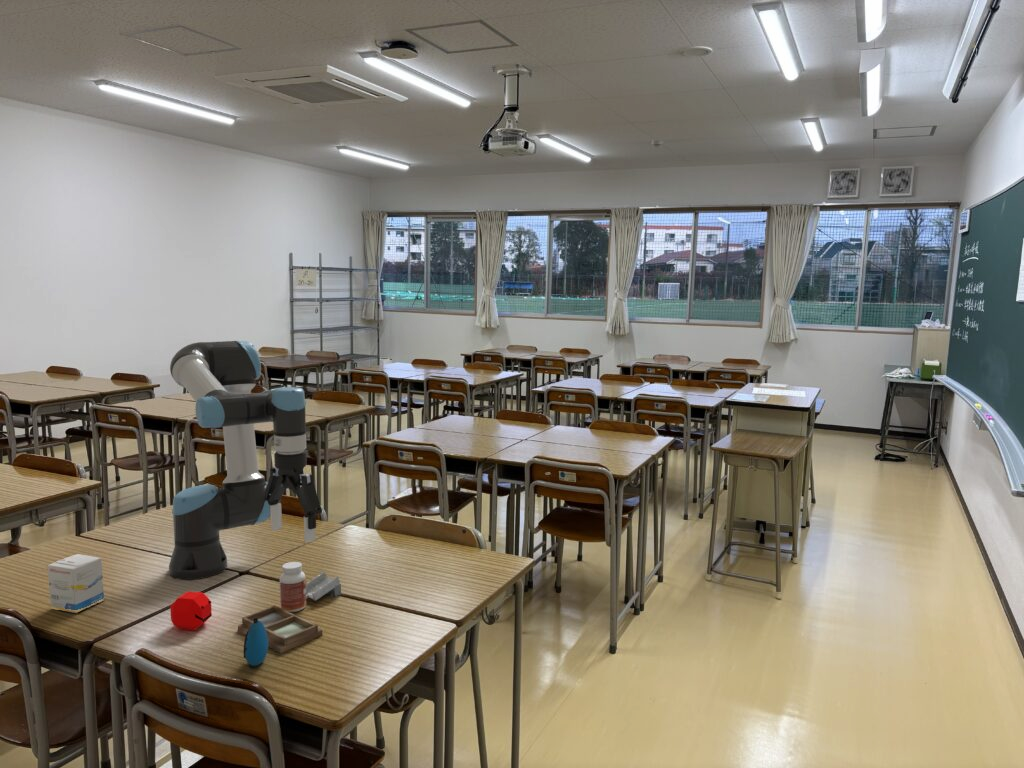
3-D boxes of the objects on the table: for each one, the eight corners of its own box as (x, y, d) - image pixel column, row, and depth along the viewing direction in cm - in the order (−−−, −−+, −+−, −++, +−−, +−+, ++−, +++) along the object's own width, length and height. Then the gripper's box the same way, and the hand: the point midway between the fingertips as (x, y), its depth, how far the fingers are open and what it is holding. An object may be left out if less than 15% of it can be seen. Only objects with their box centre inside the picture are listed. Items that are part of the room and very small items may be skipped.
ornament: (250, 653, 156) (248, 610, 155) (272, 652, 156) (270, 609, 155) (239, 673, 148) (237, 627, 146) (262, 672, 148) (261, 626, 147)
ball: (197, 635, 164) (195, 603, 163) (165, 632, 165) (163, 601, 164) (217, 620, 172) (215, 589, 171) (186, 617, 173) (185, 587, 172)
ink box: (105, 601, 182) (102, 556, 180) (75, 615, 174) (72, 568, 172) (80, 596, 185) (77, 552, 183) (49, 609, 177) (46, 564, 175)
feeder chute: (299, 599, 184) (298, 580, 183) (326, 588, 190) (326, 570, 190) (313, 605, 180) (313, 586, 179) (341, 594, 187) (340, 576, 186)
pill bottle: (309, 609, 178) (308, 566, 177) (284, 615, 175) (283, 571, 173) (302, 600, 183) (300, 558, 182) (277, 606, 180) (276, 563, 178)
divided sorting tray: (237, 630, 166) (237, 619, 166) (279, 614, 175) (278, 603, 175) (280, 653, 156) (280, 641, 156) (322, 634, 165) (322, 623, 164)
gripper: (247, 446, 179) (250, 528, 181) (309, 461, 164) (311, 550, 166) (273, 441, 185) (276, 521, 187) (335, 455, 170) (337, 542, 172)
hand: (292, 535), depth 177 cm, fingers open, 13 cm apart
